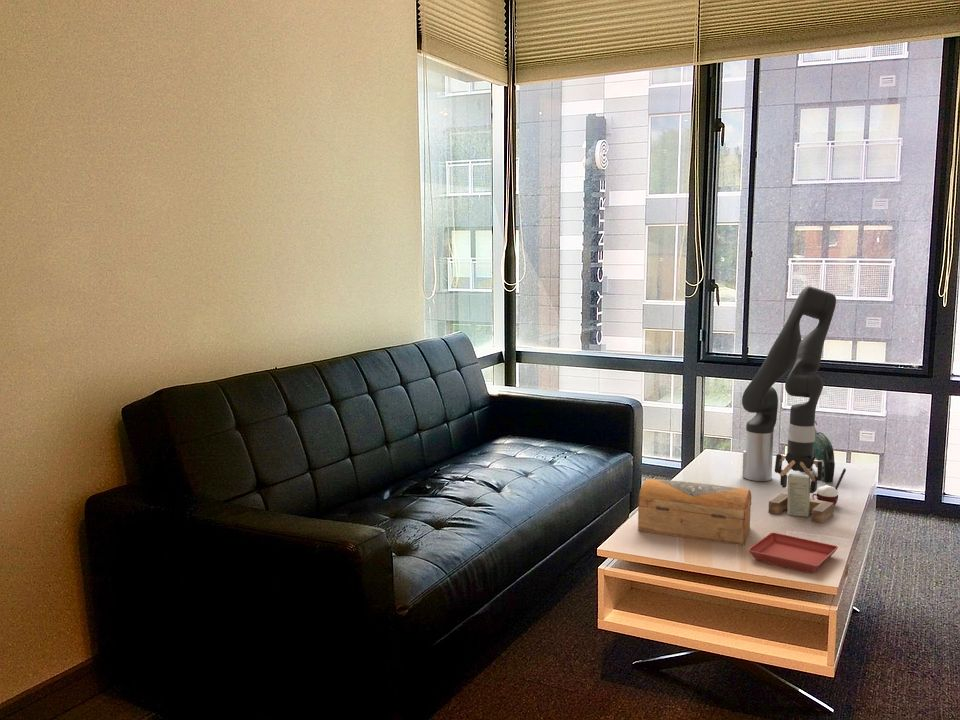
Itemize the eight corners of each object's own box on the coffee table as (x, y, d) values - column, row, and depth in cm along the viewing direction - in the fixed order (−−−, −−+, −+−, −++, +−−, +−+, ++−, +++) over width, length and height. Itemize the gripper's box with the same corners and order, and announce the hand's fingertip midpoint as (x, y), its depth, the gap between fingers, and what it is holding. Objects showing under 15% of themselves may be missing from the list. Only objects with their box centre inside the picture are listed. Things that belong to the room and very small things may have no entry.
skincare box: (809, 513, 252) (811, 475, 251) (808, 517, 248) (810, 478, 247) (787, 510, 255) (789, 472, 254) (786, 514, 251) (787, 476, 250)
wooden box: (751, 528, 240) (753, 482, 238) (743, 547, 225) (745, 498, 223) (650, 515, 253) (651, 471, 251) (637, 531, 238) (637, 485, 236)
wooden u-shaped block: (768, 512, 254) (768, 501, 253) (781, 503, 262) (781, 493, 261) (821, 523, 243) (822, 511, 243) (833, 513, 252) (833, 502, 251)
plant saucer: (771, 542, 229) (771, 531, 229) (838, 557, 218) (839, 545, 217) (746, 561, 215) (746, 549, 215) (816, 578, 204) (817, 566, 203)
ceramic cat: (793, 468, 303) (796, 415, 300) (810, 468, 304) (812, 415, 301) (821, 483, 283) (824, 427, 281) (839, 483, 284) (842, 426, 281)
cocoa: (811, 506, 260) (810, 469, 259) (815, 500, 266) (815, 464, 264) (843, 510, 255) (843, 473, 253) (847, 504, 260) (847, 467, 258)
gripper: (773, 437, 250) (770, 488, 252) (821, 444, 241) (817, 497, 243) (782, 432, 256) (779, 482, 258) (829, 440, 247) (826, 491, 249)
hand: (798, 489), depth 251 cm, fingers open, 8 cm apart
